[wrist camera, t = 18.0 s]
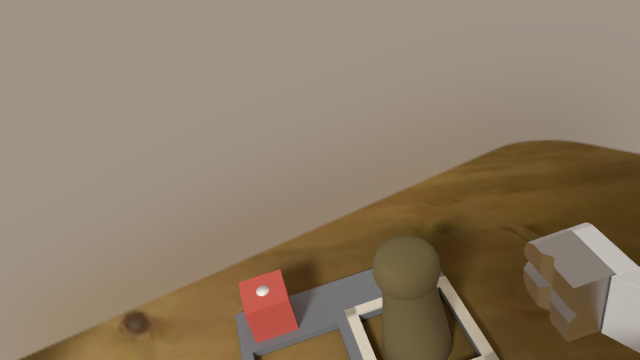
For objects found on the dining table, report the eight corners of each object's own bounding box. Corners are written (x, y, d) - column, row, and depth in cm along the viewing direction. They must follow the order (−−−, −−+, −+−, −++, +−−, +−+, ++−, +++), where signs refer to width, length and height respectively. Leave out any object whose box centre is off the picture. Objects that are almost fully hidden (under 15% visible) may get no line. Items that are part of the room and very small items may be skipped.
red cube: (256, 343, 49) (244, 313, 46) (250, 311, 52) (238, 282, 49) (298, 328, 49) (288, 299, 47) (289, 297, 52) (279, 268, 50)
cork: (386, 312, 50) (369, 223, 43) (453, 315, 48) (446, 223, 41) (377, 370, 45) (357, 280, 39) (452, 375, 43) (444, 282, 37)
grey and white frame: (264, 482, 39) (260, 475, 39) (237, 319, 52) (234, 313, 52) (514, 390, 41) (514, 382, 41) (428, 255, 54) (427, 248, 54)
